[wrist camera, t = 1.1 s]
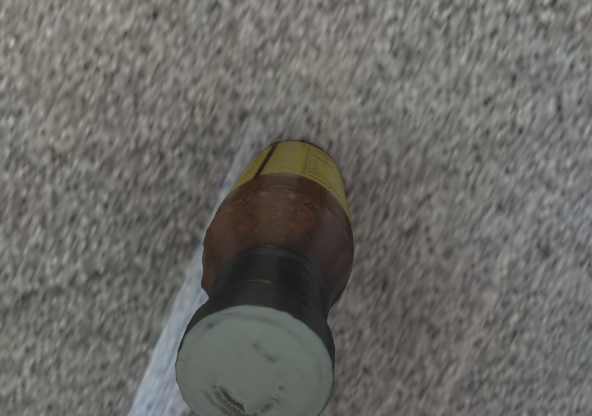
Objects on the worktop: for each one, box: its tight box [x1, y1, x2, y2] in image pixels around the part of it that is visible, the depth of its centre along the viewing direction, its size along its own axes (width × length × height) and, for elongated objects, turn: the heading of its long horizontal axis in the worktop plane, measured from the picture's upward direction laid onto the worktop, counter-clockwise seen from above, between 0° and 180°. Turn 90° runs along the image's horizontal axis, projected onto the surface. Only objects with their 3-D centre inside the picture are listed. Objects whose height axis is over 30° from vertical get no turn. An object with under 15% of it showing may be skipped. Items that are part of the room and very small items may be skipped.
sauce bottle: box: [175, 141, 354, 416], centre depth 21 cm, size 7×6×20 cm
